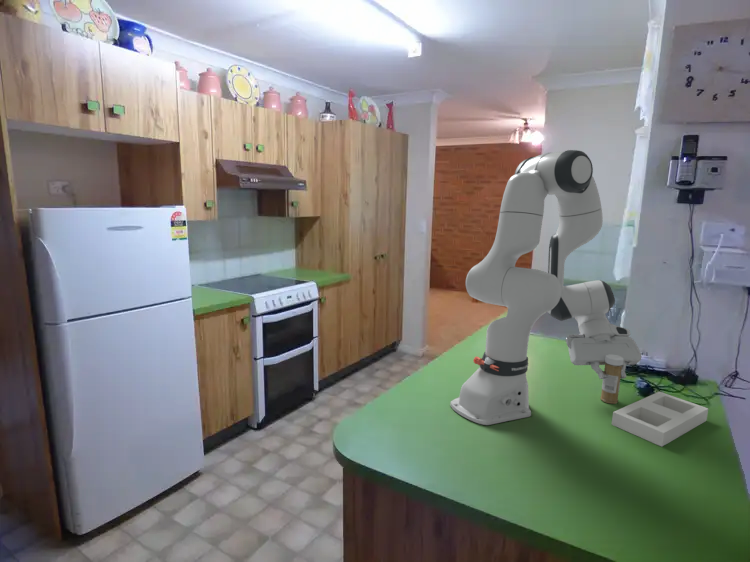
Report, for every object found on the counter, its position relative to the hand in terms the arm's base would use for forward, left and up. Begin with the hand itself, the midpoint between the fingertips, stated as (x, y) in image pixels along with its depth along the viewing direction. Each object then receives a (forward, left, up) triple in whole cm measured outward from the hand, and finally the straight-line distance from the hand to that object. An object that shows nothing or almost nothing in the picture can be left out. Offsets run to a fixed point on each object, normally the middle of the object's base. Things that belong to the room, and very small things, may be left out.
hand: (613, 378), depth 124 cm
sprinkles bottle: (0, +1, -7) cm, 7 cm away
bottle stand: (-1, -13, -7) cm, 15 cm away
